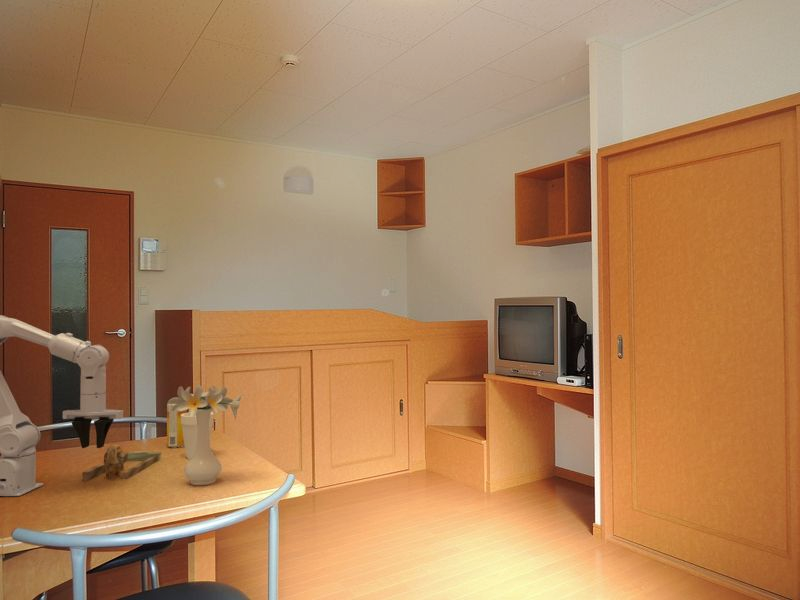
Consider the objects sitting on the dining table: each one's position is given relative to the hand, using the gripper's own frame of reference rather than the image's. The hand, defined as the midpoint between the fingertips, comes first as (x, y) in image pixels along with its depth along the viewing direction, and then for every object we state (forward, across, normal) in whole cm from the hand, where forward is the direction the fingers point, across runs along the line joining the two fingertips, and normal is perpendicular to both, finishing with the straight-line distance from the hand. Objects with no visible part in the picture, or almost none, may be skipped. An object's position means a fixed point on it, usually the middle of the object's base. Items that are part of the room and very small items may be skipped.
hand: (92, 447), depth 148 cm
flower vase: (+10, -27, -5) cm, 29 cm away
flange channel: (+10, 0, -16) cm, 19 cm away
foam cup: (+10, -15, -31) cm, 36 cm away
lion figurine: (+10, 0, -12) cm, 15 cm away
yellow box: (+10, -3, -45) cm, 46 cm away
